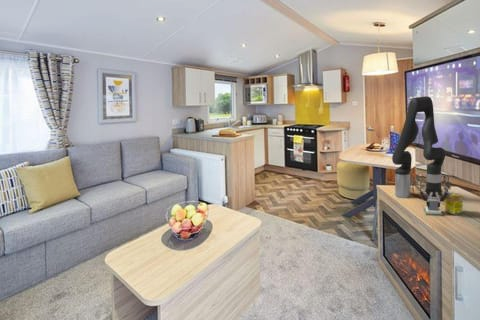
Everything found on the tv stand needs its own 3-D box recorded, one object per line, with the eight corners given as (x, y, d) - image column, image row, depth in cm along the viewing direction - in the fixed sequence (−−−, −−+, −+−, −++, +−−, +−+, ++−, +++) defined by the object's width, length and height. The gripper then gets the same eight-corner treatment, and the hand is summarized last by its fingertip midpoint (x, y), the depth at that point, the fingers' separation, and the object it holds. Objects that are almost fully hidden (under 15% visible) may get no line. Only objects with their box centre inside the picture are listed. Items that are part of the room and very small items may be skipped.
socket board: (423, 209, 170) (423, 205, 169) (439, 210, 166) (439, 206, 165) (425, 215, 162) (426, 211, 162) (443, 216, 158) (443, 212, 158)
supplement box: (454, 215, 157) (455, 198, 155) (444, 212, 163) (445, 195, 161) (462, 213, 158) (463, 196, 156) (452, 210, 164) (453, 193, 162)
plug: (428, 208, 166) (428, 197, 165) (436, 208, 165) (436, 197, 163) (429, 210, 163) (430, 199, 161) (437, 211, 161) (438, 199, 160)
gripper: (446, 178, 160) (445, 205, 164) (418, 178, 166) (418, 204, 170) (450, 182, 154) (449, 210, 157) (420, 182, 160) (420, 208, 163)
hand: (433, 207), depth 163 cm, fingers closed on plug, 4 cm apart
